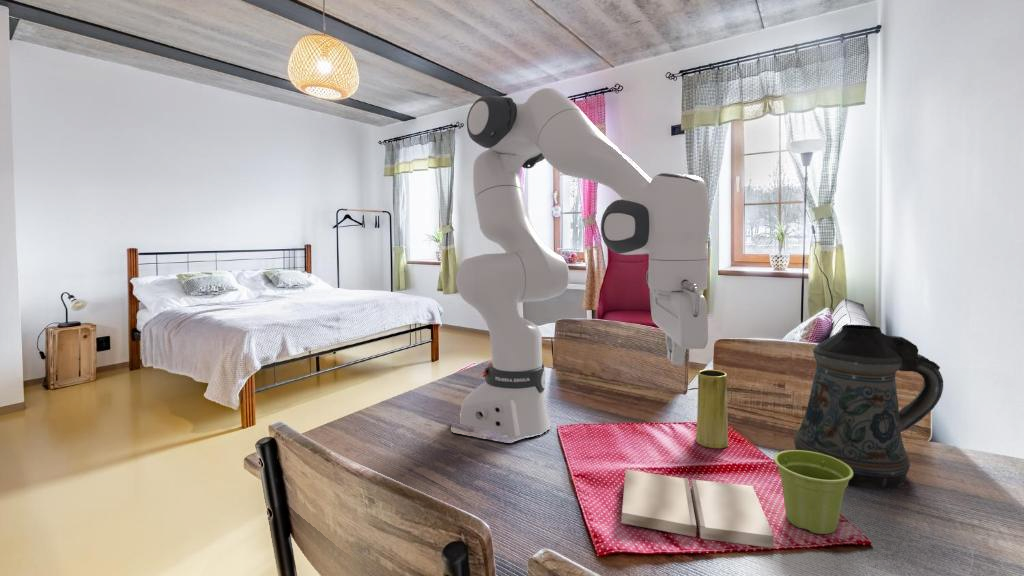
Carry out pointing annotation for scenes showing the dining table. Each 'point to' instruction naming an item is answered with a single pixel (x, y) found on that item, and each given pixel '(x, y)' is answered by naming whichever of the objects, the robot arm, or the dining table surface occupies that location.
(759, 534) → the board
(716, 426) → the vase
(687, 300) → the robot arm
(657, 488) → the loose plank
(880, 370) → the beer stein
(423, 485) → the dining table surface
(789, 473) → the plant pot
